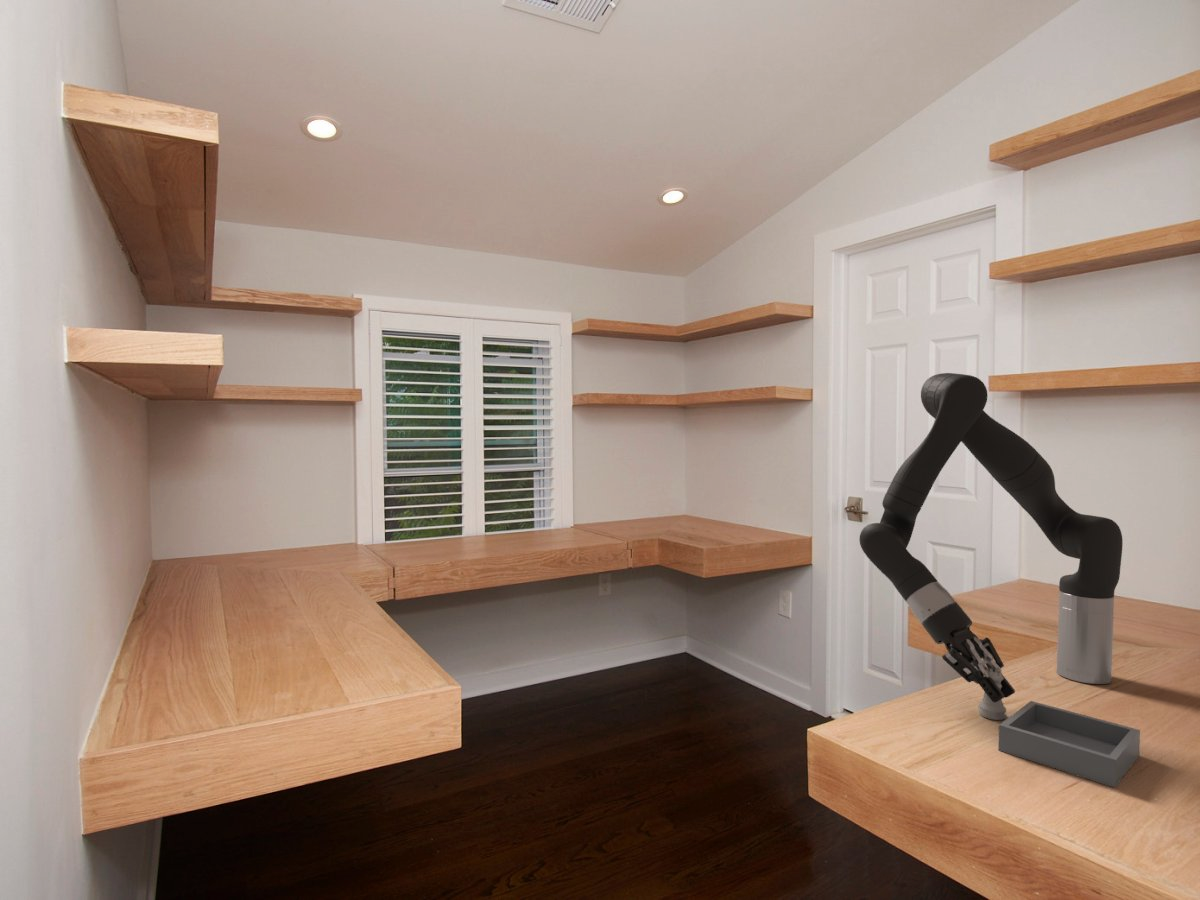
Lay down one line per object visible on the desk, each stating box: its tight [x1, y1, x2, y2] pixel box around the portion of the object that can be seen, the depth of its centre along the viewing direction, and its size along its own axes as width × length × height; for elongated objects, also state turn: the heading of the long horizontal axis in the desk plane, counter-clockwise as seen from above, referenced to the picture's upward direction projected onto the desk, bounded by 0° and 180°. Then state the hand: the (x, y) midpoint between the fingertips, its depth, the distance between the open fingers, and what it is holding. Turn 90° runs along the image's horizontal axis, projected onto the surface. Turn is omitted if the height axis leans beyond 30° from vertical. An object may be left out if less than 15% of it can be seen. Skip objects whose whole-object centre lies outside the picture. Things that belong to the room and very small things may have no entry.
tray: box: [998, 700, 1141, 789], centre depth 108 cm, size 15×15×4 cm
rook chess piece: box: [977, 669, 1008, 721], centre depth 121 cm, size 4×4×8 cm
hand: (1004, 697), depth 120 cm, fingers closed on rook chess piece, 3 cm apart
